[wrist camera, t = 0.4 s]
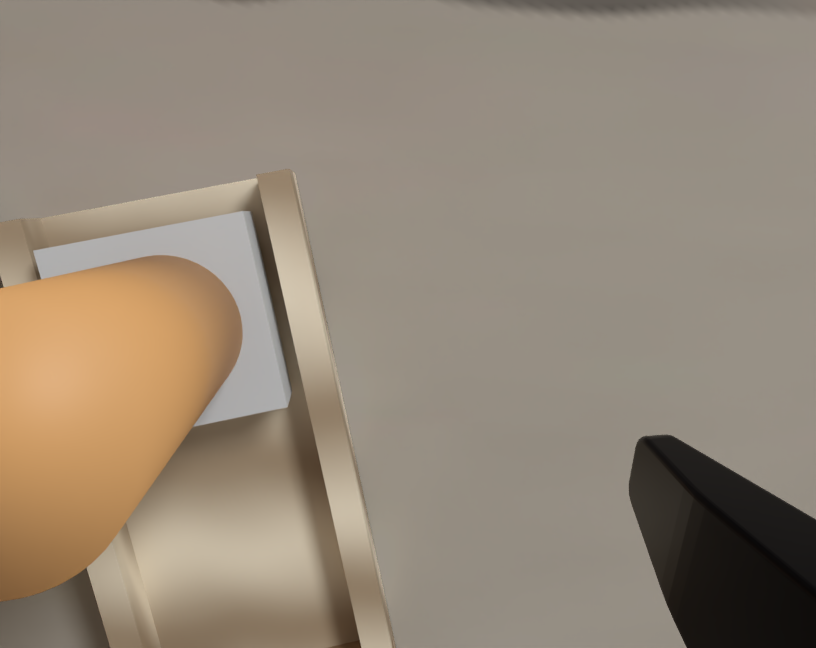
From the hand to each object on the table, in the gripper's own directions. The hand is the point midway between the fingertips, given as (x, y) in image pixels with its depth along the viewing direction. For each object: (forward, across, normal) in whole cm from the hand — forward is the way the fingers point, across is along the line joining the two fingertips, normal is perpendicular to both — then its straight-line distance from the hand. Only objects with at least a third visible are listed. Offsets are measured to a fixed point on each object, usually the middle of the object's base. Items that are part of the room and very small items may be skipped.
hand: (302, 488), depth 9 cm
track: (+13, +4, +10) cm, 17 cm away
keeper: (+13, +5, +4) cm, 15 cm away
